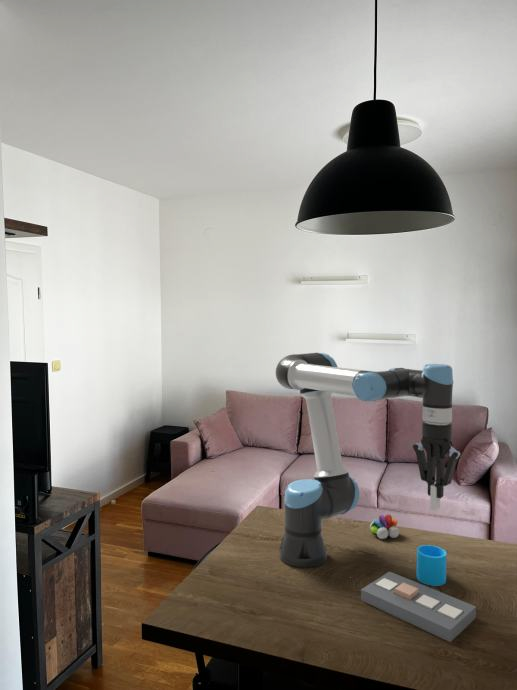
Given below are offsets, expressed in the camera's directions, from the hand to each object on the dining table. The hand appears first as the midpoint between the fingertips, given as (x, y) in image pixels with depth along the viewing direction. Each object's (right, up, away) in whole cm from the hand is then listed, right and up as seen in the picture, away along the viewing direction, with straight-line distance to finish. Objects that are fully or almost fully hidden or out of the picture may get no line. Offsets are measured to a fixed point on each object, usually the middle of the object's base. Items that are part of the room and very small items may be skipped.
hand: (435, 508), depth 141 cm
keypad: (-6, -25, -5) cm, 26 cm away
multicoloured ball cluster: (-4, -22, +41) cm, 47 cm away
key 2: (-9, -23, -3) cm, 25 cm away
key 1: (-13, -24, +2) cm, 27 cm away
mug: (+3, -24, +13) cm, 27 cm away
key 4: (0, -25, -11) cm, 27 cm away
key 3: (-4, -25, -7) cm, 26 cm away
